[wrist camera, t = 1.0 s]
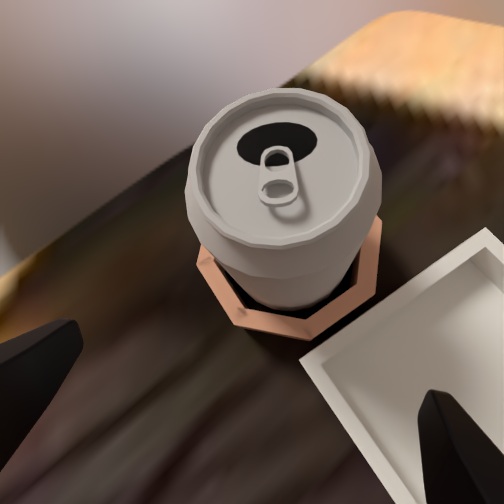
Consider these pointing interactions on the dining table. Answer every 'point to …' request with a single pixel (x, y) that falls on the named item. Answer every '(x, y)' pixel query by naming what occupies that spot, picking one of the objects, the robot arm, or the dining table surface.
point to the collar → (289, 326)
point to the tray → (419, 361)
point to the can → (284, 194)
